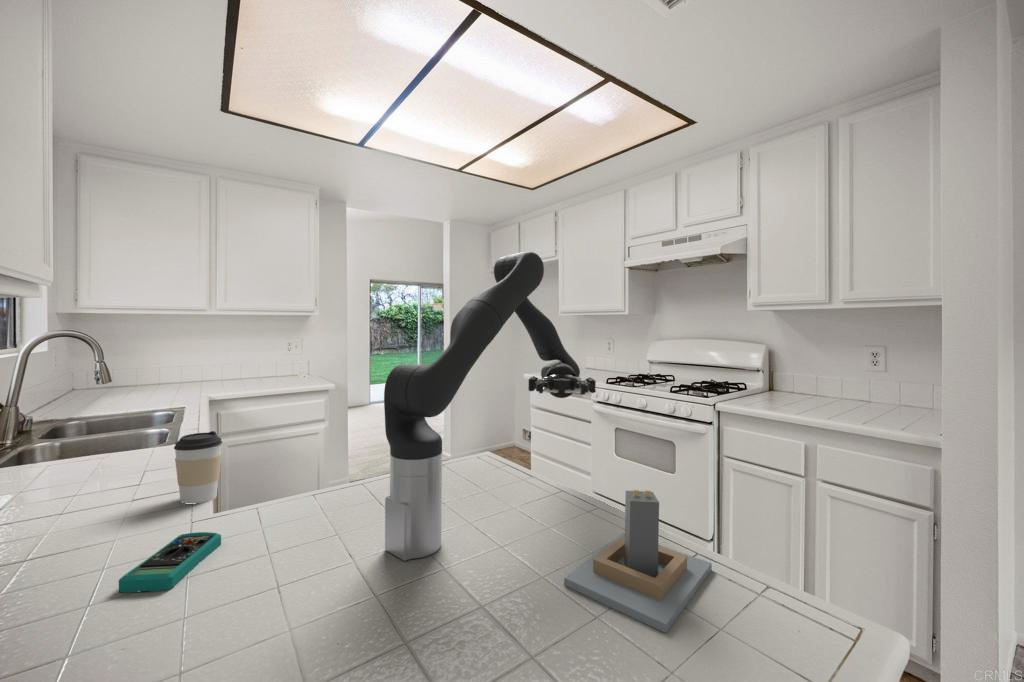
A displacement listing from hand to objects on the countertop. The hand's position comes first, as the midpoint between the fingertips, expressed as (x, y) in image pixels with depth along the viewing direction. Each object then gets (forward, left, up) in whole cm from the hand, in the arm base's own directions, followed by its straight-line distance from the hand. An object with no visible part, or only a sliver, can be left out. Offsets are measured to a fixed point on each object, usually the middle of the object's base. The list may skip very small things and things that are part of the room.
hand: (562, 388), depth 86 cm
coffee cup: (-44, +70, -28) cm, 88 cm away
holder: (-6, -20, -28) cm, 35 cm away
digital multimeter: (-55, +39, -29) cm, 73 cm away
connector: (-6, -20, -27) cm, 34 cm away
